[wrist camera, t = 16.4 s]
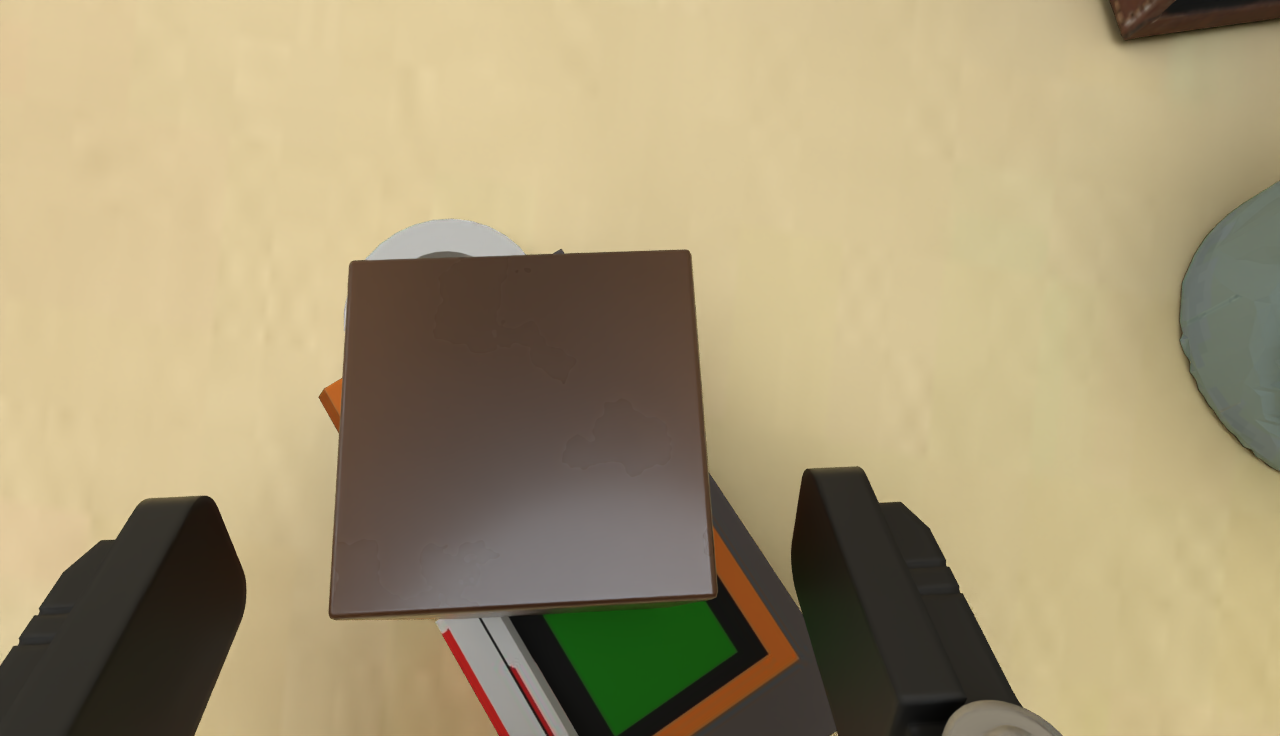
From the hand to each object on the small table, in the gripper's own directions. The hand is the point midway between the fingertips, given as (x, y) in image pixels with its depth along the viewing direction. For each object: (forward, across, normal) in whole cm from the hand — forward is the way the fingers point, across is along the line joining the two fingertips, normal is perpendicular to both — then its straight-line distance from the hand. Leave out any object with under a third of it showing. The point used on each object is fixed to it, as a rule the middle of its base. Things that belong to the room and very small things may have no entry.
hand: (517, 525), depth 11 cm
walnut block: (+5, 0, +4) cm, 6 cm away
